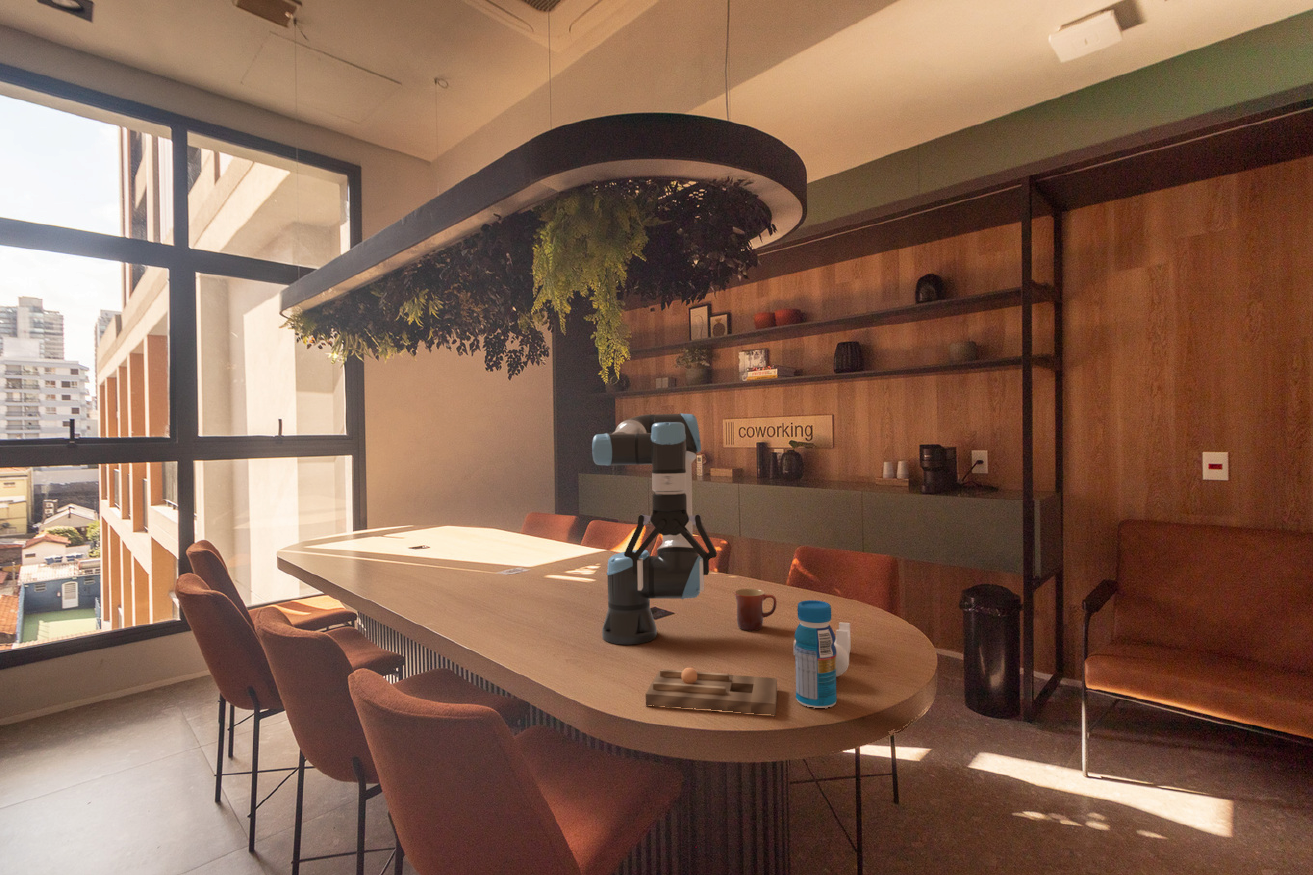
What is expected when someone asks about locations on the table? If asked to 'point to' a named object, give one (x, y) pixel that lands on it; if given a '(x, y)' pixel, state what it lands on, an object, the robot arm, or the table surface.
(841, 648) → the white knot
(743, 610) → the mug
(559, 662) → the table surface
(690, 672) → the ball
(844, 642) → the bracket
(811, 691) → the beverage bottle
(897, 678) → the table surface
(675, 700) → the lane board
